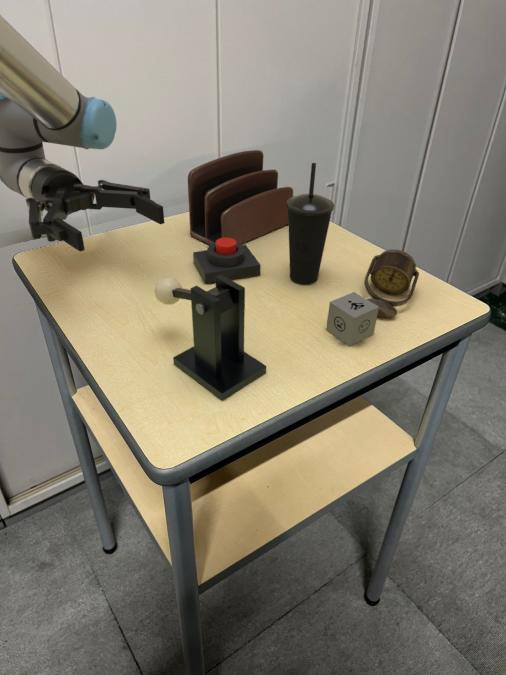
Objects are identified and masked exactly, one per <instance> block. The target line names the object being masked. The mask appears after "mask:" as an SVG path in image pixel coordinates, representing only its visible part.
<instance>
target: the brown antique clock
mask: <svg viewBox="0 0 506 675" xmlns="http://www.w3.org/2000/svg"><path fill="white" fill-rule="evenodd" d="M416 264H417V263H416V260H414V258H413V256H412V255H411V254H409V253H408V252H406V251H405V250H404V251H403V250H400V249H387V250H384V251H383V252H381V253H380V254H377V255H374V256H373V258H372V259H371V262H370V264H369V266H368V269H367V271H366V274H365V277H364V283H363V284H364V287H365V288H364V289H365V290H366V292H367V293H368V295H369V296H370V298H366V299H367V300H368V301H370V302H372V303H374V304H375V305H377V306H379V309H378V314H377V317H382V318H394V317H396V316H398V310H397V308H398V307H402V306H403V305H406V304H407V303H409V301H411V299H412V297H413V295H414V292H415V289H416V285H417V283H418V280H419V276H420V272H419V271H418V270H417V265H416ZM413 277H414V278H413ZM369 278H370V281H371V284H372V285H373V287H374V288H375V289H376V290H377V291H379V292H381V293H383V294H386V295H389V296H399V295H402V294H404V293H406V292H407V291H408V290H409V288H410V290H409V294H408V296H407V298H405V299H403V300H399V301H395V300H388V299H385V298H383V297H381V296H380V295H378V294H376V293H375V291H373V289H372V288H371V285H370V283H369ZM410 286H411V287H410Z"/></svg>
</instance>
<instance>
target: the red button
mask: <svg viewBox="0 0 506 675" xmlns="http://www.w3.org/2000/svg"><path fill="white" fill-rule="evenodd" d="M216 253H218V254H222V255H230V254H234V253H236V240H234V239H232V238H220V239H218V240H216Z"/></svg>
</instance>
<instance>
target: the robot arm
mask: <svg viewBox="0 0 506 675" xmlns="http://www.w3.org/2000/svg"><path fill="white" fill-rule="evenodd" d="M116 116H117V115H116V113H115V111H114V108H113V107H112V105H111V103H109V102H108V101H106V100H104V99H101V98H96V97H95V96H90V97H87V96H85V95H84V94H83V93H81V92H80V91H79V90H78V89H77V88H76V87H75V86H74V85H73V83H72V82H70V81H69V80H68V79H67V78H66V77H65V76H64V75H63V74H62V73H61V72H60V71H58V70H57V68H56V67H54V65H52V64H51V63H50V62H49V60H47V59H46V57H44V55H42V54H41V53H40V52H39V51H38V50H37V49H36V48H35V47H34V46H33V45H32V44H31V43H30V42H29V41H28V40H27V39H26V38H25V37H24V36H23V35H22V34H20V33H19V32H18V31H17V29H16V28H14V26H12V25H11V24H10V22H8V21H7V19H5V17H4V16H2V14H0V182H1V183H3V184H4V185H5V186H6V188H8V189H9V190H10V191H12V192H14V193H17V194H19V195H20V196H22V197H23V198H25V203H26V207H27V211H28V225H29V229H30V233H31V237H32V239H34V240H38V239H41V238H42V236H43V235H46V240H47V241H48V242H51V243H52V242H55V241H59V242H62V241H63V242H65V243H66V244H68V245H69V246H71V247H72V248H73V249H75V250H77V251H78V252H80V253H81V252H83V251H85V250H86V249H85V248H86V247H85V244H84V238H83V233H82V231H81V230H79V229H77V228H76V227H74V226H73V225H71V224H69V223H68V222H66V221H65V220H66V219H67V218H68V216H69V215H72V214H74V213H77V212H80V211H86V210H102V208H115V209H130V210H131V209H132V210H135V213H137V214H139V215H141V216H142V217H145V218H147V219H149V220H151V221H152V222H154V223H156V224H158V225H164V224H165V214H164V213H165V212H164V206H163V205H161V204H160V203H157V202H155V201H154V200H152V199H151V191H150V188H147V187H141V186H135V185H127V184H123V183H122V184H121V183H115V182H110V181H108V180H104V179H99V180H97V185H95V186H94V185H90V184H89V185H88V184H84V183H83V182H82V181H81V180H80V178H79V177H78V176H77V175H76V174H75V173H74V172H72V171H70V170H67V169H65V168H64V167H62V166H61V165H58V164H56V163H55V162H53V161H50V160H48V159H46V154H45V149H44V143H48V144H53V145H60V146H61V145H62V146H66V147H67V146H68V147H74V148H81V149H84V150H89V149H91V150H105V149H107V148H109V147H110V146H111V145H112V143H113V142H114V140H115V138H116V137H115V135H116V133H117V117H116ZM94 201H95V202H96V203H94ZM45 211H46V212H47V213H46V214H45V215H44V217H43V218H42V216H43V212H45Z"/></svg>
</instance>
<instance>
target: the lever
mask: <svg viewBox="0 0 506 675" xmlns="http://www.w3.org/2000/svg"><path fill="white" fill-rule="evenodd" d="M206 291H207V292H208V293H210V294H212V295H213V296H215V297H217V298H219V299H220V306H221V313H223V312H225V311H227V310H229V309H231V308H233V307H234V306H233V302H232V297H231V293H230V289H224V288H218V287H216V286H215V287H213V288H211V289H209V290H206ZM154 295H155V298H156V299H157V301H159V303H161V304H163V305H167V306H169V305H174V304H176V303H178V302H179V301H180V300H186V301H191V289H187V288H183V286H182V285H181V283H180V282H179V280H178V279H176V278H174V277H171V276H167V277H163V278H161V279H159V280H158V281H157V283H156V284H155V286H154Z"/></svg>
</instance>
